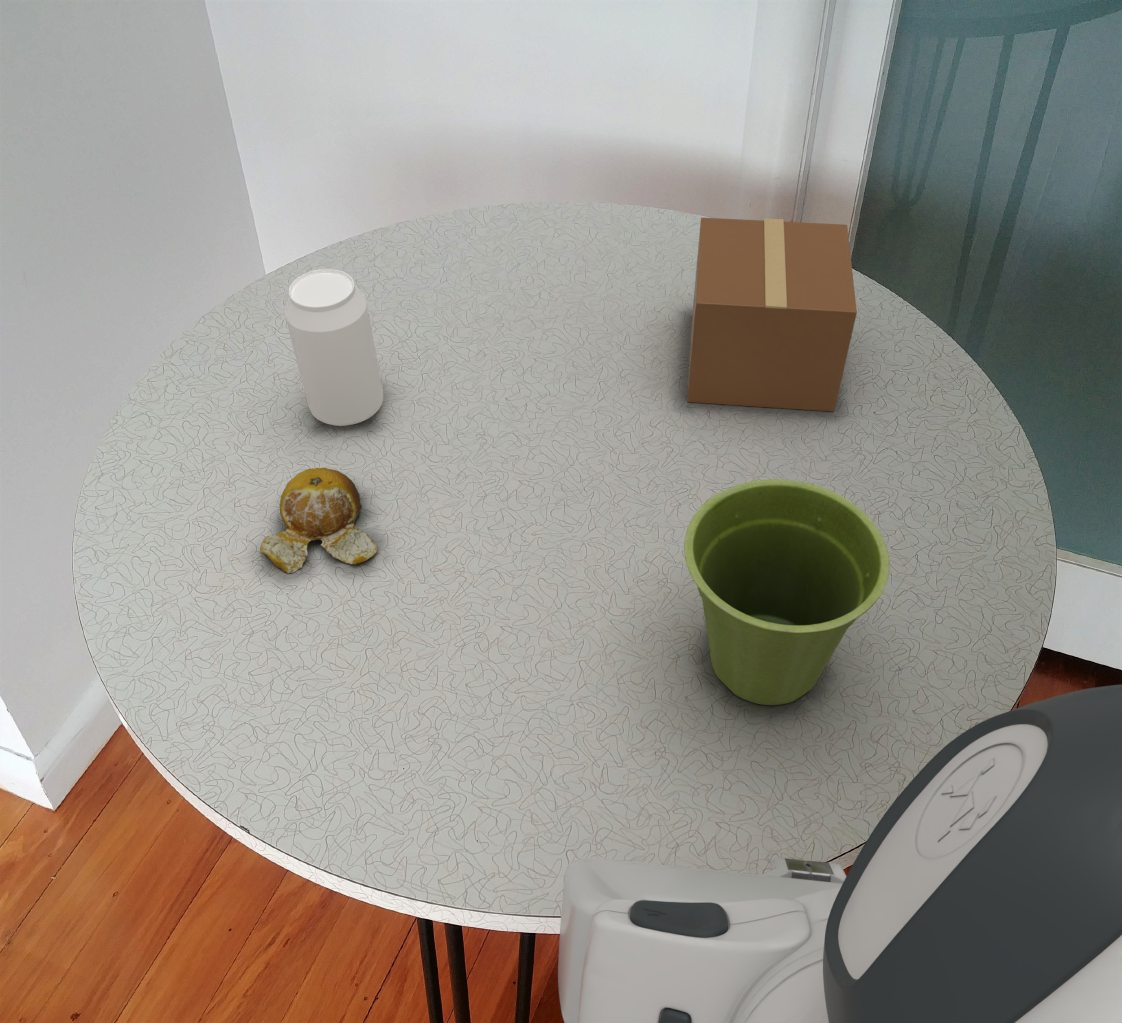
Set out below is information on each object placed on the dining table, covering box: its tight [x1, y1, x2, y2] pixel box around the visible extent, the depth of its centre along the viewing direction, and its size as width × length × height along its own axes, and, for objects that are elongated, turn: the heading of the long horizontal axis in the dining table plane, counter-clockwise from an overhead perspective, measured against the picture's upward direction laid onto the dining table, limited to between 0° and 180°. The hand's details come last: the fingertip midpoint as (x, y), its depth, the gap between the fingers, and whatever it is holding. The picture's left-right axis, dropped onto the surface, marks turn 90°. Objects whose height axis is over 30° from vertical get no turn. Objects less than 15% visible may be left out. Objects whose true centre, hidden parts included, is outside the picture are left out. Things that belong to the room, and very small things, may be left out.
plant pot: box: [683, 478, 891, 706], centre depth 66 cm, size 12×12×11 cm
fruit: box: [260, 467, 378, 574], centre depth 78 cm, size 8×8×4 cm
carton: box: [686, 217, 858, 413], centre depth 87 cm, size 12×12×10 cm
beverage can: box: [284, 268, 384, 427], centre depth 84 cm, size 6×6×12 cm
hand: (803, 876), depth 46 cm, fingers closed
